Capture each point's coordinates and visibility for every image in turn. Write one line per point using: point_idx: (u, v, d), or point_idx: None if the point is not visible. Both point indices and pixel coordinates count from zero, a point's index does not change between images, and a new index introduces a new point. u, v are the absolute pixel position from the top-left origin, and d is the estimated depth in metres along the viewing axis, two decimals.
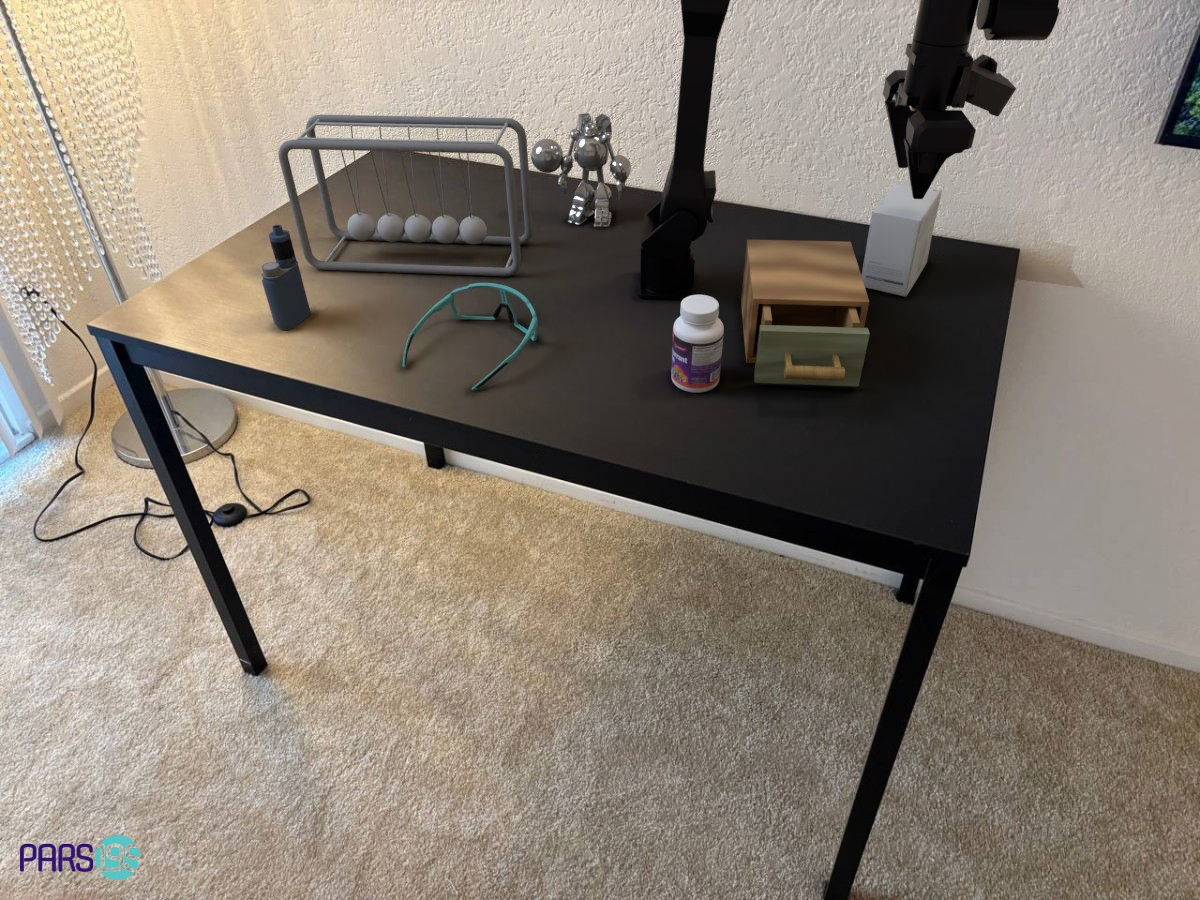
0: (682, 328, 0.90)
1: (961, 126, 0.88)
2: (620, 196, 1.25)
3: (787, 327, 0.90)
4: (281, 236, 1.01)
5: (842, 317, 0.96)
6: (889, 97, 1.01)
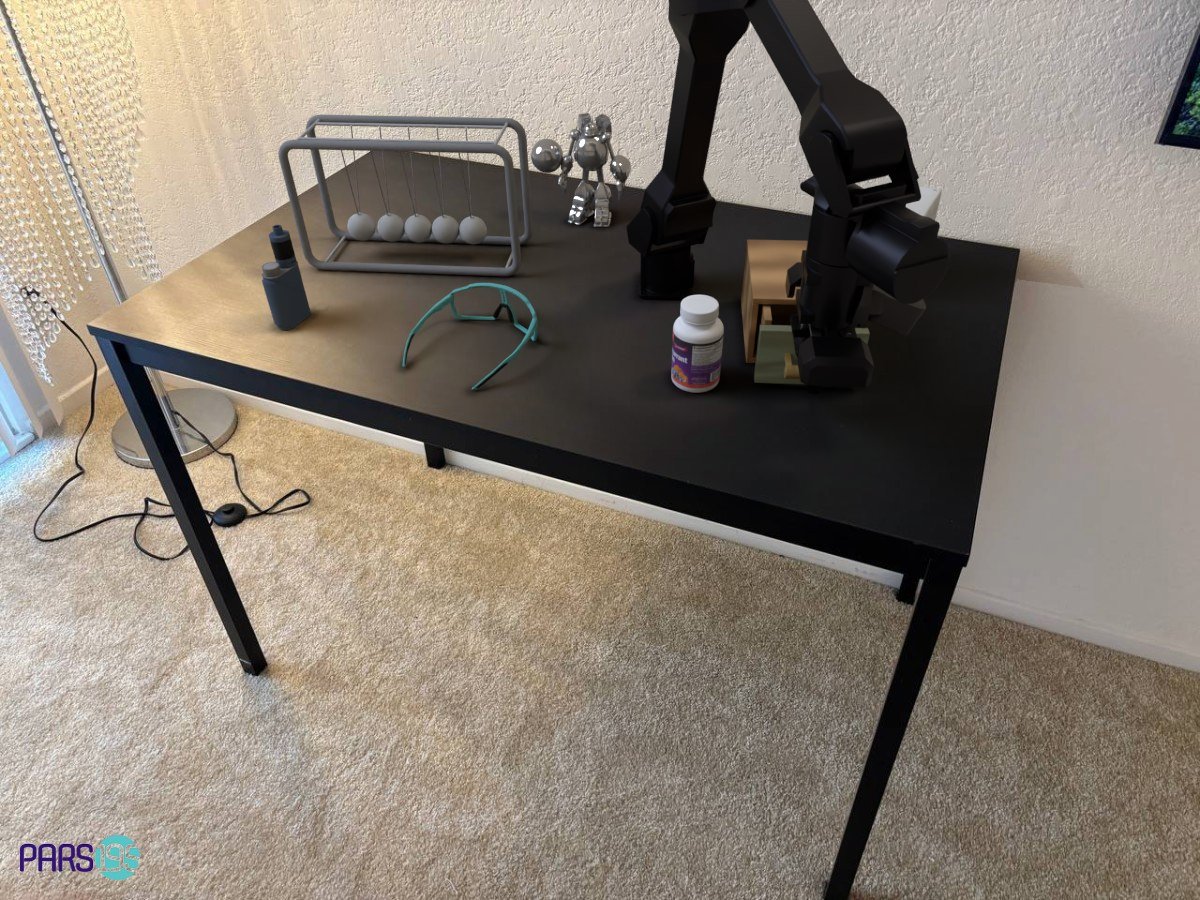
0: (682, 328, 0.90)
1: (856, 364, 0.75)
2: (620, 196, 1.25)
3: (787, 327, 0.90)
4: (281, 236, 1.01)
5: None
6: (789, 295, 0.88)
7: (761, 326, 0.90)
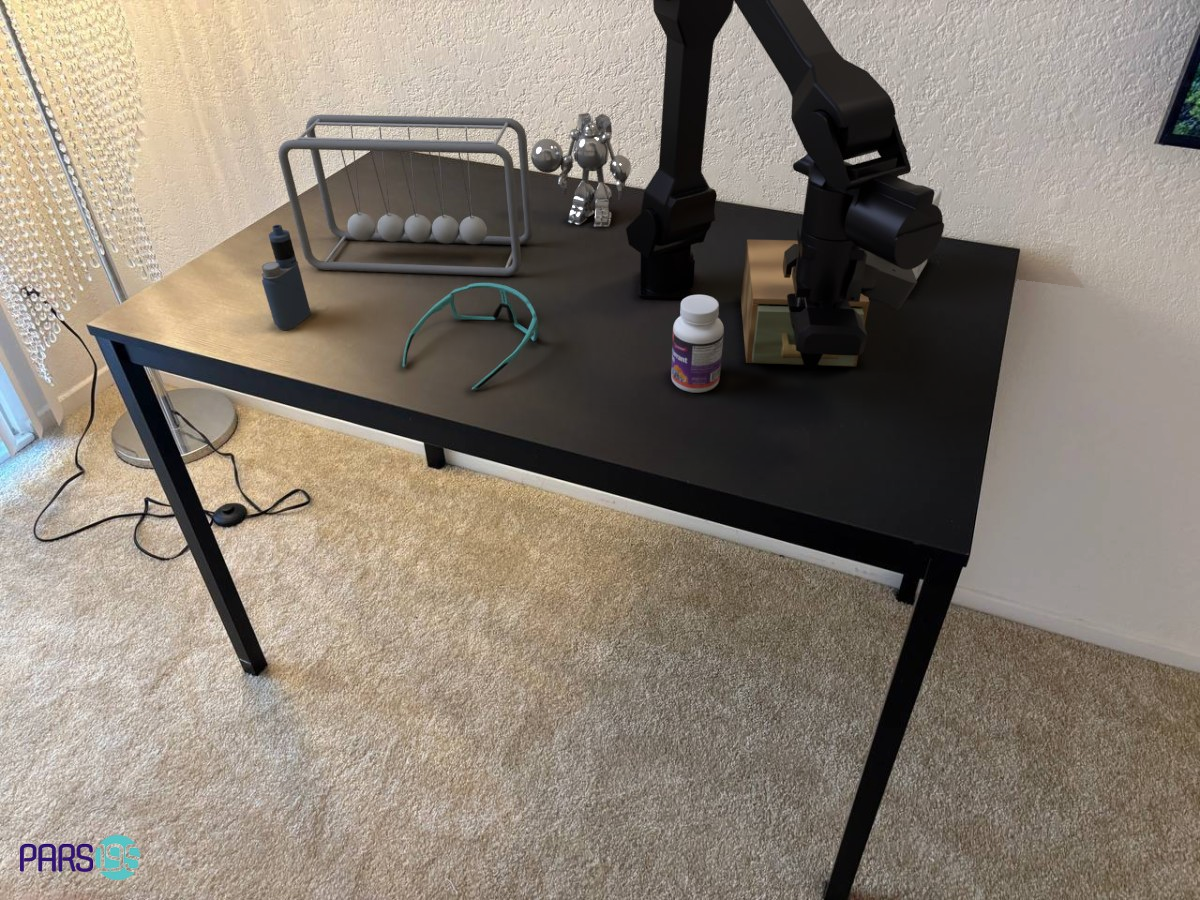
0: (682, 328, 0.90)
1: (850, 332, 0.78)
2: (620, 196, 1.25)
3: (784, 308, 0.93)
4: (281, 236, 1.01)
5: None
6: (786, 275, 0.91)
7: (759, 307, 0.93)
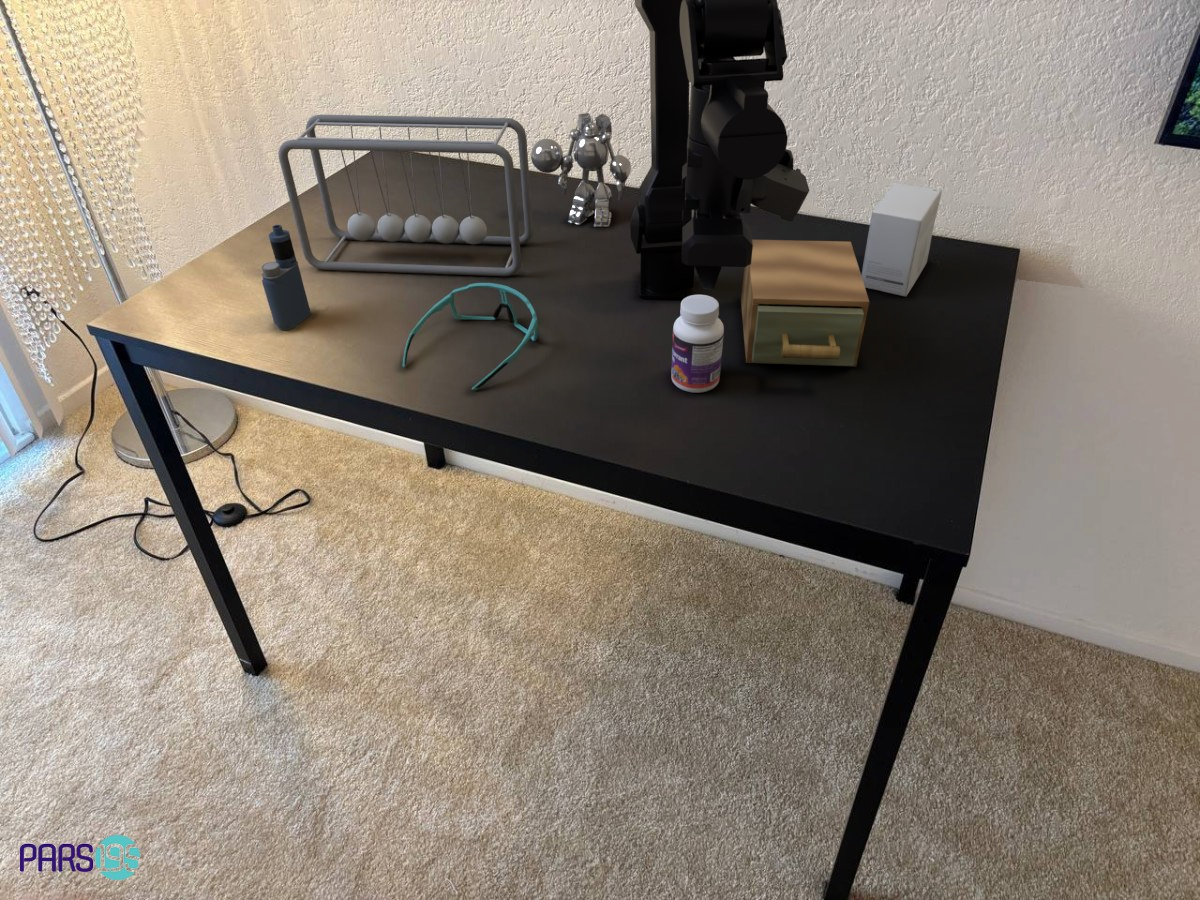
0: (682, 328, 0.90)
1: (734, 242, 0.75)
2: (620, 196, 1.25)
3: (784, 308, 0.93)
4: (281, 236, 1.01)
5: None
6: (683, 190, 0.88)
7: (759, 307, 0.93)
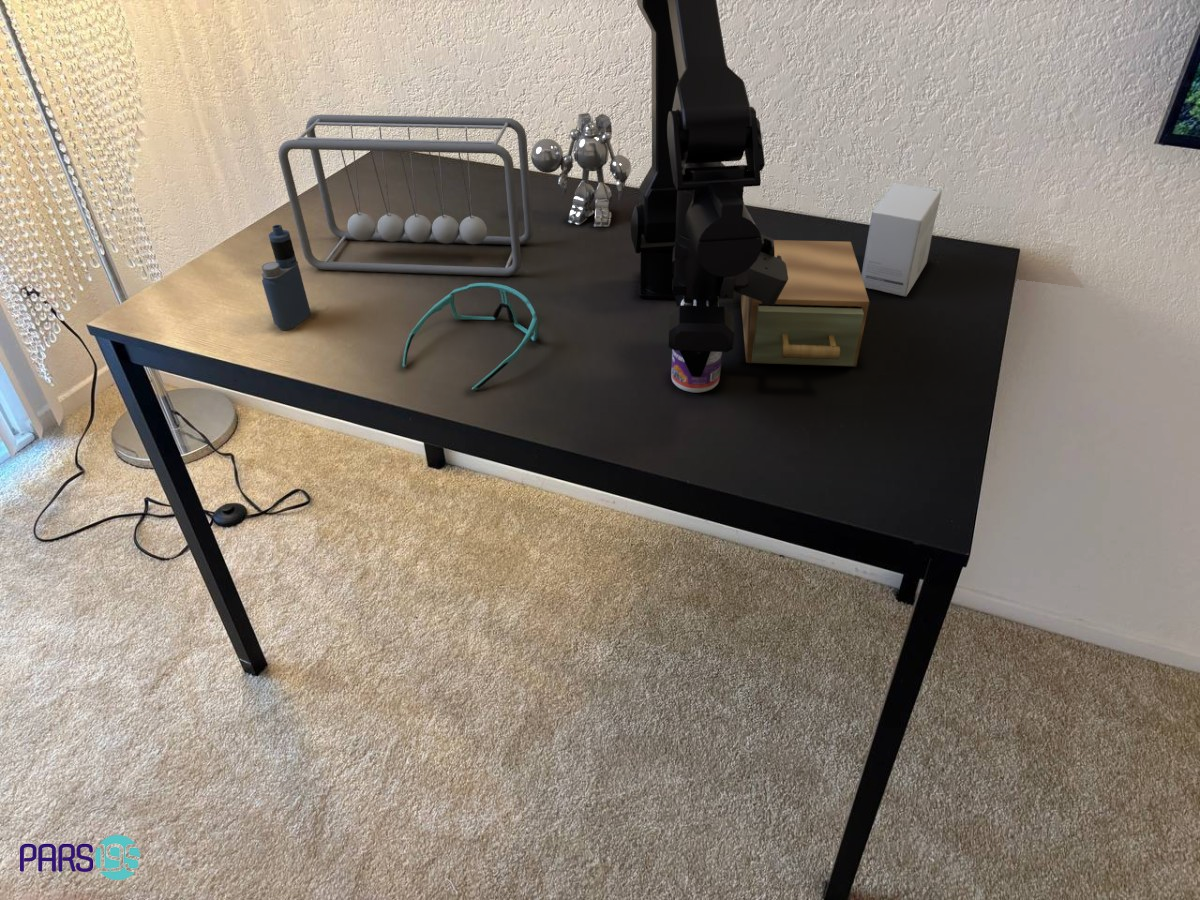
0: None
1: (717, 330, 0.81)
2: (620, 196, 1.25)
3: (784, 308, 0.93)
4: (281, 236, 1.01)
5: None
6: (673, 271, 0.94)
7: (759, 307, 0.93)
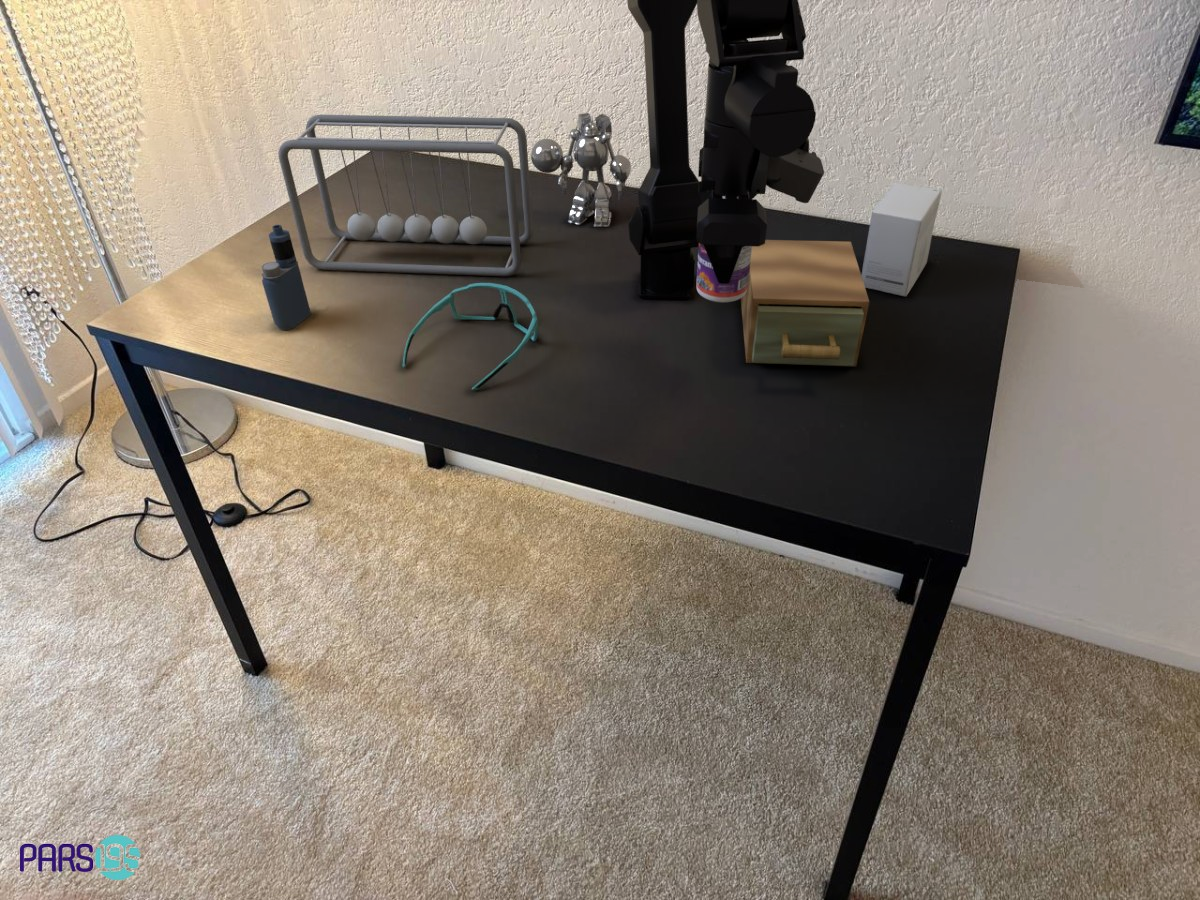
0: None
1: (748, 221, 0.76)
2: (620, 196, 1.25)
3: (784, 308, 0.93)
4: (281, 236, 1.01)
5: None
6: (700, 173, 0.89)
7: (759, 307, 0.93)
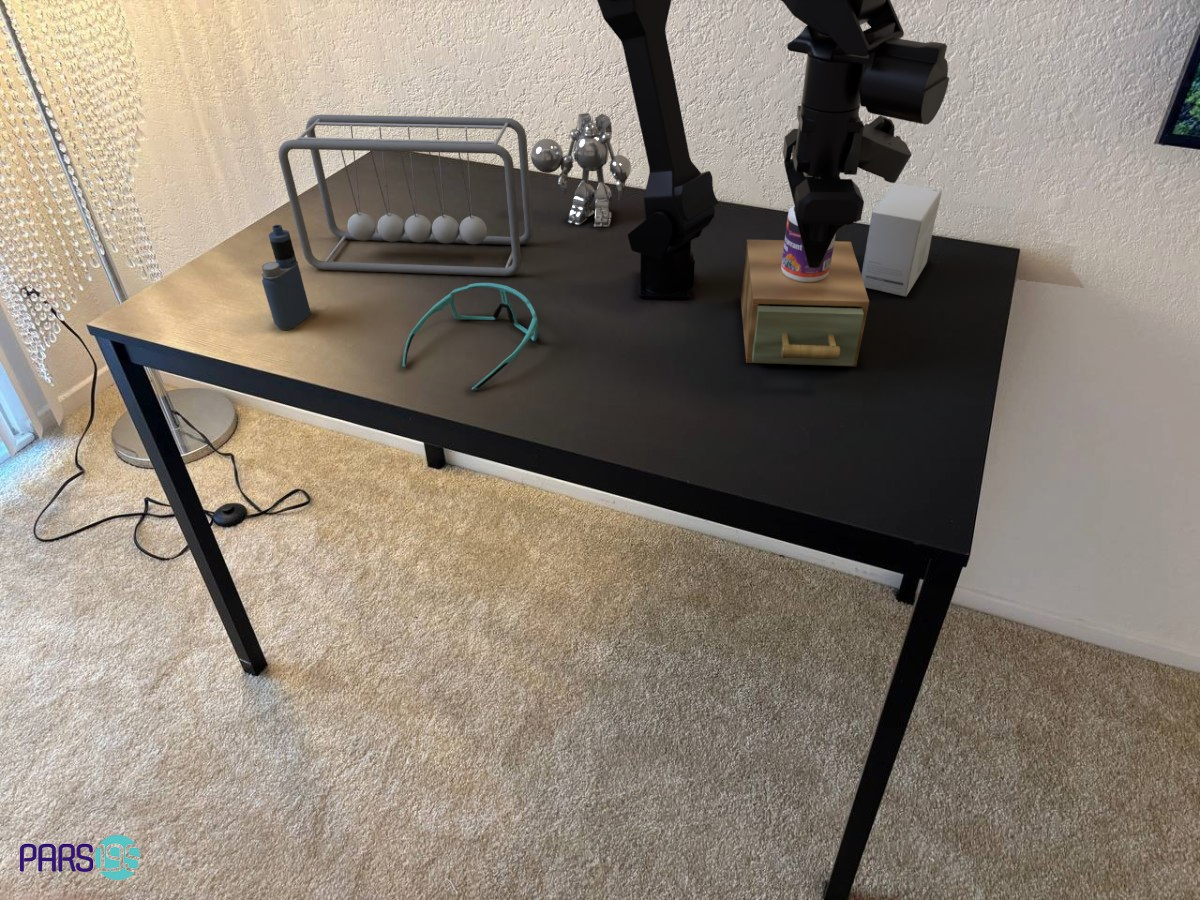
0: None
1: (847, 198, 0.82)
2: (620, 196, 1.25)
3: (784, 308, 0.93)
4: (281, 236, 1.01)
5: None
6: (787, 158, 0.95)
7: (759, 307, 0.93)
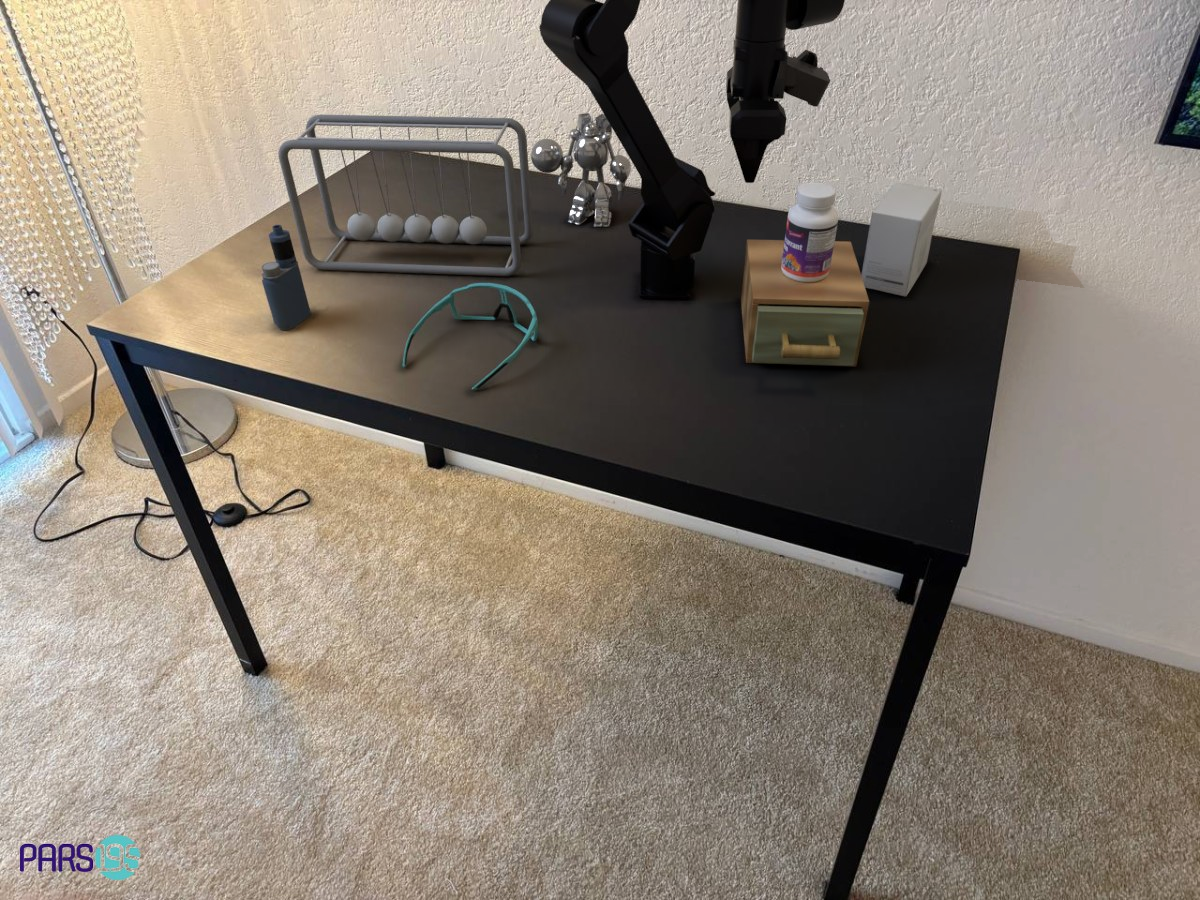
0: (799, 214, 0.92)
1: (772, 115, 0.96)
2: (620, 196, 1.25)
3: (784, 308, 0.93)
4: (281, 236, 1.01)
5: None
6: (728, 89, 1.09)
7: (759, 307, 0.93)
